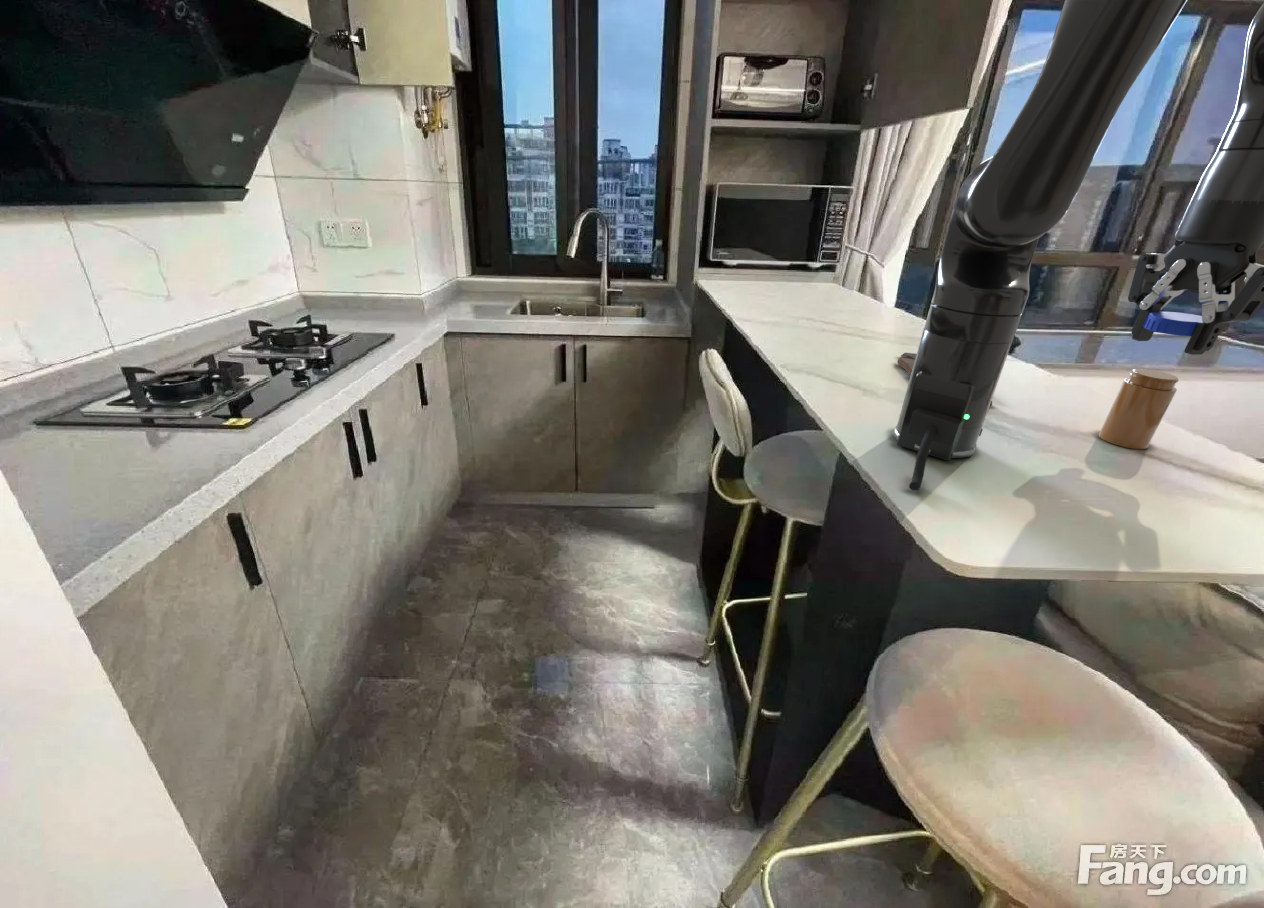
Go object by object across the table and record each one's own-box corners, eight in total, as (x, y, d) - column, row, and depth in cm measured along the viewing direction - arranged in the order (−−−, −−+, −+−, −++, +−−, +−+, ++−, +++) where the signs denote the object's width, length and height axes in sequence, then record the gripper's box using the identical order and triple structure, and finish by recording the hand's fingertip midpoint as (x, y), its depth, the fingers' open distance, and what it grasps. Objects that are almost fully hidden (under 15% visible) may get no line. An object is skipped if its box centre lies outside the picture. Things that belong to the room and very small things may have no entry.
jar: (1146, 452, 70) (1182, 383, 66) (1096, 440, 73) (1127, 373, 69) (1148, 441, 73) (1182, 374, 69) (1100, 429, 76) (1130, 365, 72)
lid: (1212, 331, 66) (1219, 317, 65) (1199, 339, 63) (1206, 324, 62) (1151, 322, 70) (1157, 309, 70) (1136, 329, 67) (1141, 315, 67)
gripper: (1350, 201, 54) (1257, 363, 62) (1194, 197, 67) (1132, 332, 75) (1294, 198, 53) (1205, 364, 61) (1145, 195, 66) (1087, 332, 73)
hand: (1165, 346), depth 68 cm, fingers closed on lid, 5 cm apart
